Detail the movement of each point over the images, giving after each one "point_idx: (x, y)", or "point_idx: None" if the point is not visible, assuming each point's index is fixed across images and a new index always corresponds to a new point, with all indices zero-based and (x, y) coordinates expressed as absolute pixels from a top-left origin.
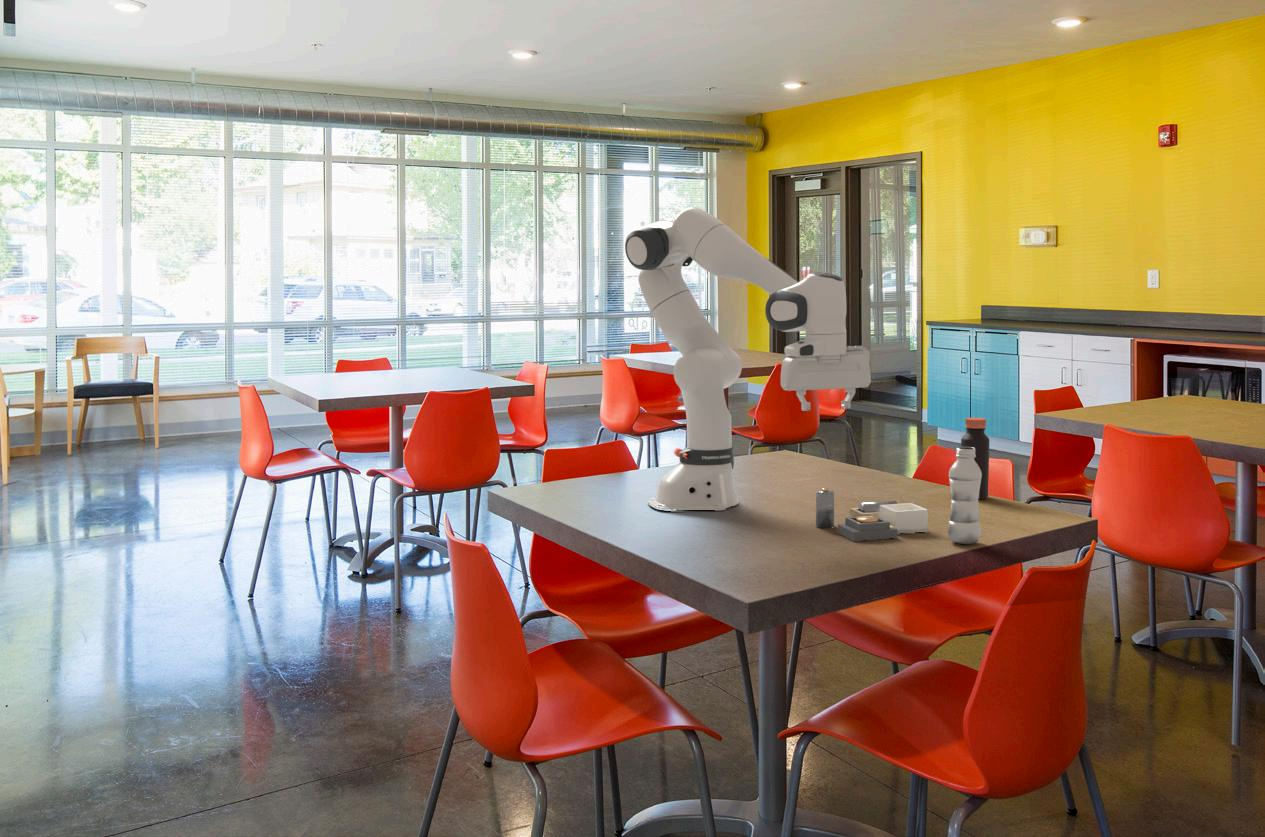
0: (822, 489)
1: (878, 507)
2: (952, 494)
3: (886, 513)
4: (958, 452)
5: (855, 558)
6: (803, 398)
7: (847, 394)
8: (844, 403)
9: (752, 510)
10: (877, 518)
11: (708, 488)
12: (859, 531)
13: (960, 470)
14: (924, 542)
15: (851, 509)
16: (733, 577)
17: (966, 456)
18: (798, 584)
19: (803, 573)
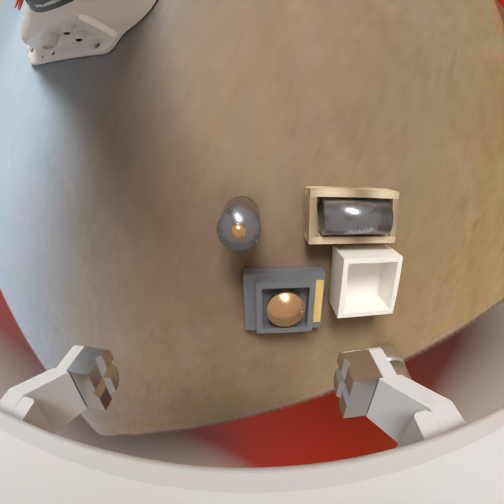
0: (231, 232)
1: (350, 233)
2: None
3: (338, 281)
4: None
5: (214, 386)
6: (59, 422)
7: (413, 404)
8: (340, 406)
9: (158, 50)
10: (300, 317)
11: (75, 28)
12: (256, 328)
13: None
14: (338, 344)
15: (309, 195)
16: None
17: None
18: (137, 425)
19: (145, 407)
